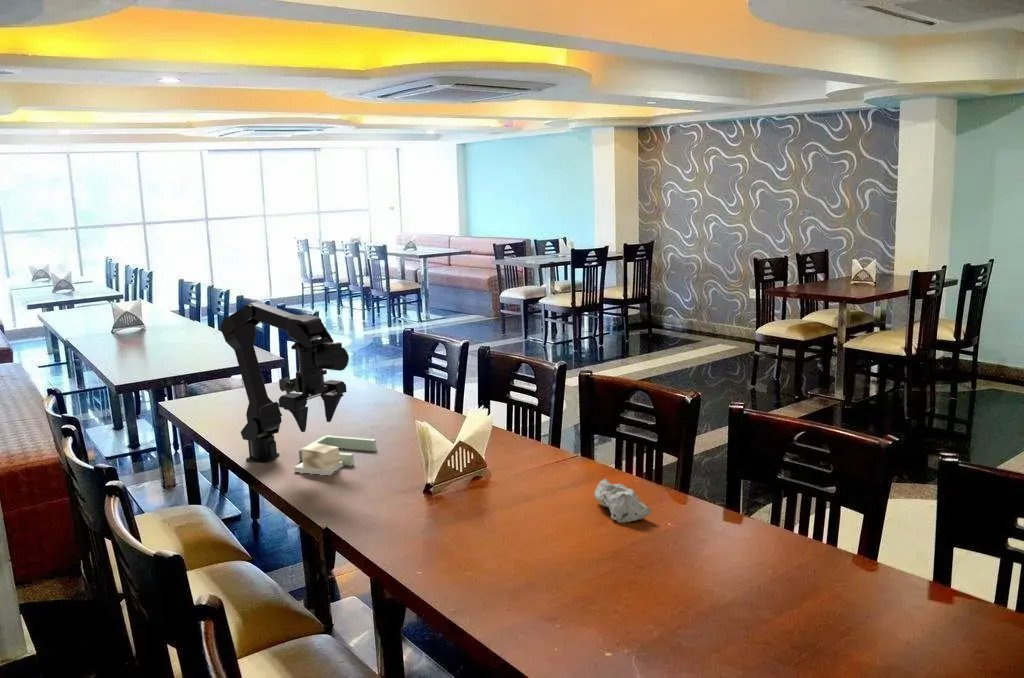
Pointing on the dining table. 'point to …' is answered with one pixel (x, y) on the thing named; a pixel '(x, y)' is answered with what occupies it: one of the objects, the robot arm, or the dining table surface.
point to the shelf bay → (346, 446)
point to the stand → (316, 469)
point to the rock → (621, 502)
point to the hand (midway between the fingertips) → (316, 426)
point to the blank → (320, 456)
